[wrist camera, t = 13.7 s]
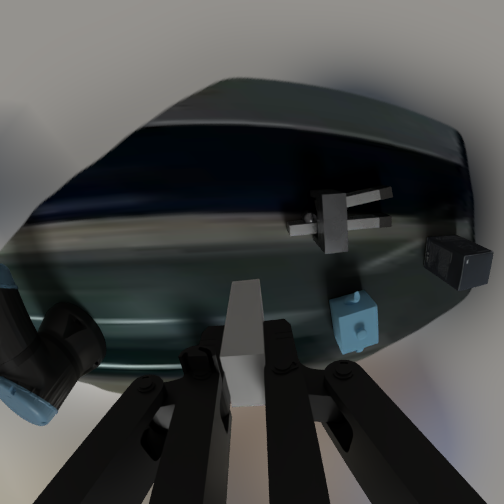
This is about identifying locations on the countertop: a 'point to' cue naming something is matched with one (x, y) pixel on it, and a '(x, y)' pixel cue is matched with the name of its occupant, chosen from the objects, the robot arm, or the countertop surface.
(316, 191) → the collar
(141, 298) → the countertop surface
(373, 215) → the tongs fixed
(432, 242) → the box
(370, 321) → the blue teapot
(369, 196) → the tongs jaw
